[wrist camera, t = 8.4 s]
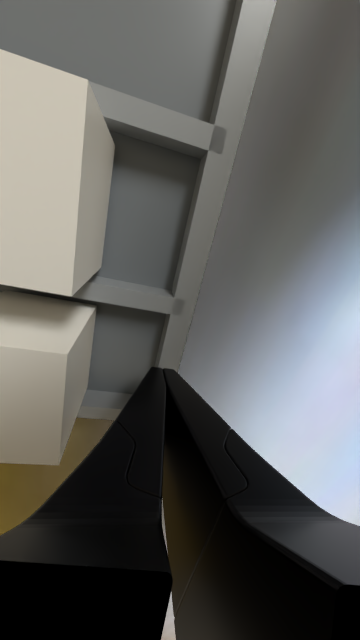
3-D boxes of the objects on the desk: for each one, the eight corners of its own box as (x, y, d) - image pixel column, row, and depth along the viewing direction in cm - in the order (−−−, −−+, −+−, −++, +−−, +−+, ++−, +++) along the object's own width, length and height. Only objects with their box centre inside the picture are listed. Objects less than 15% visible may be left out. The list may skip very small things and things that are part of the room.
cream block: (96, 305, 9) (67, 354, 5) (87, 386, 10) (58, 465, 7) (4, 290, 8) (-89, 334, 5) (7, 378, 9) (-67, 460, 6)
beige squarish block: (115, 145, 7) (88, 80, 4) (100, 267, 8) (71, 296, 5) (0, 110, 6) (-149, -3, 3) (3, 247, 8) (-102, 266, 4)
